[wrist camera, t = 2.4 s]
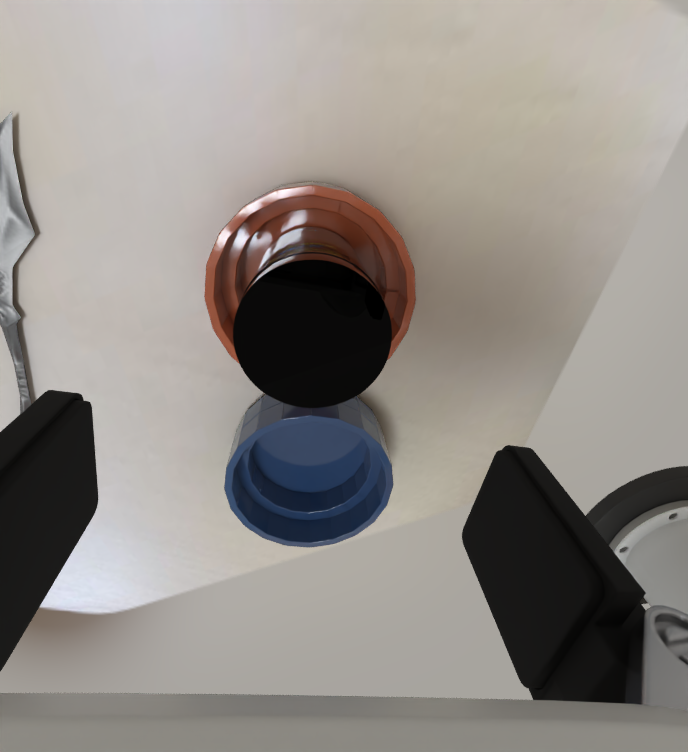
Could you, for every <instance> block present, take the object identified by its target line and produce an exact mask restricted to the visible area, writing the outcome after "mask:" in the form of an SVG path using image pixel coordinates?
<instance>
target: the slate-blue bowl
mask: <svg viewBox="0 0 688 752" xmlns="http://www.w3.org/2000/svg"><path fill="white" fill-rule="evenodd" d="M224 488H225V492H226V496H227V499H228V502H229V505H230V508H231V510H232V511H233V512H234V514H235V515H236V516H237V517H238V519H239V520H240V521H241V522H242V523H243V525H245V527H247V528H249V529H250V530H252V531H253V532H255V533H256V534H258V535H259V536H261V537H262V538H264V539H267V540H270V541H273V542H276V543H279V544H283V545H286V546H297V547H317V546H324V545H331V544H335V543H338V542H340V541H343V540H345V539H348V538H350V537H353V536H355V535H357V534H358V533H360V532H361V531H363V530H364V529H365V528H367V527H368V526H369V525H371V524H372V523H374V522H375V520H376V519H377V518H378V516H379V515H380V514H381V512H382V511H383V510H384V508H385V507H386V506H387V504H388V500H389V497H390V494H391V491H392V488H393V475H392V465H391V461H390V457H389V454H388V450H387V447H386V443H385V440H384V436H383V432H382V429H381V427H380V425H379V423H378V421H377V419H376V417H375V415H374V413H373V412H372V410H371V409H370V408H369V407H368V406H367V405H366V404H365V403H364V402H362V401H361V400H360V399H359V398H358V397H357V396H355V397H354V398H352V399H350V400H348V401H346V402H343V403H340V404H337V405H334V406H329V407H323V408H302V407H296V406H292V405H288V404H285V403H282V402H280V401H278V400H276V399H273V398H272V397H270V396H268V395H265V396H263V397H262V398H261V399H260V400H259V401H257V402H256V403H255V404H254V405H253V406H252V407H251V408H250V409H249V410H247V412H246V413H245V415H244V417H243V419H242V420H241V422H240V424H239V426H238V428H237V430H236V434H235V437H234V441H233V445H232V449H231V452H230V456H229V460H228V464H227V467H226V476H225V486H224Z"/></svg>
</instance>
